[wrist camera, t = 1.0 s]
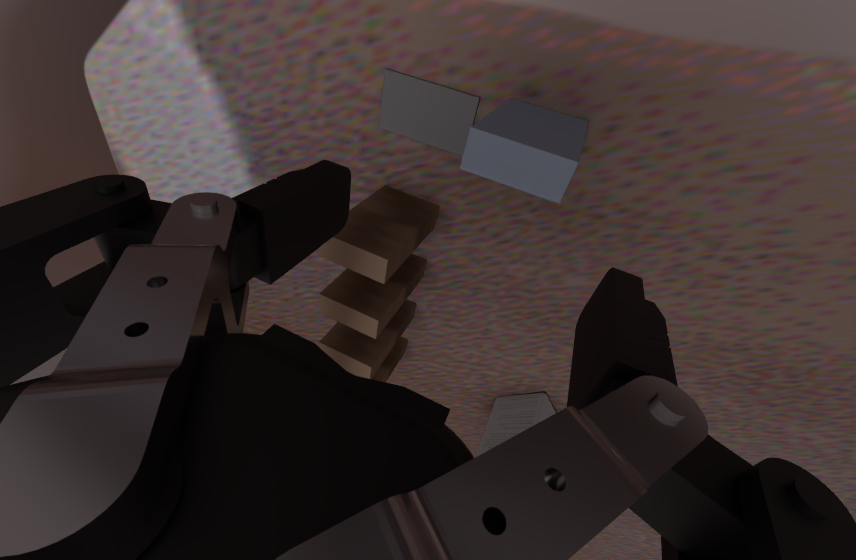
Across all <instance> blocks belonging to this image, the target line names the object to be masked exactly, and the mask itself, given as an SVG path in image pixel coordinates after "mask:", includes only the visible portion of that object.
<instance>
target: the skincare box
mask: <svg viewBox="0 0 856 560" xmlns="http://www.w3.org/2000/svg"><path fill="white" fill-rule="evenodd" d="M554 414H556V412H555V410H554V408H553V406H552V404H551V403H550V400H549V398H548V396H547V395H546V394H545V393H533V394H523V395H512V396H503V397H497V398H496V400H495V403H494V406H493V408H492V411H491V414H490V417H489V419H488V422H487V425H486V427H485V430H484V433H483V436H482V438H481V441H480V444H479V447H478V449H477V452H476V455H475V457H477V456H479V455H481V454H483V453H484V452H486V451H488V450H490V449H492V448H494V447H495V446H497V445H499V444H501V443H503V442H505V441H506V440H508V439H510V438H512V437H514V436H515V435H517V434H519V433H521V432H523V431H525V430H526V429H528V428H530V427H532V426H534V425H536V424H537V423H539V422H541V421H543V420H545V419H546V418H548V417H550V416H552V415H554Z"/></svg>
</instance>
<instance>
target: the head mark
mask: <svg viewBox="0 0 856 560" xmlns="http://www.w3.org/2000/svg"><path fill="white" fill-rule="evenodd" d="M479 100H480V97H477V96H474V95H470V94H467V93H464V92H461V91H457V90H454V89H451V88H448V87H444V86H441V85H438V84H435V83H431V82H428V81H425V80H422V79H418V78H415V77H412V76H409V75H406V74H402V73H399V72H396V71H393V70H389V69H385V75H384V85H383V95H382V104H381V114H380V123H379V128H381V129H384V130H387V131H390V132H393V133H396V134H398V135H401V136H404V137H407V138H410V139H413V140H416V141H419V142H422V143H425V144H427V145H430V146H433V147H436V148H439V149H442V150H445V151H448V152H451V153H454V154H456V155H459V156H462V157H463V154H464V150H465V146H466V143H467V139H468V135H469V131H470V127H471V126H473V123H474V120H475V116H476V112H477V108H478V104H479Z"/></svg>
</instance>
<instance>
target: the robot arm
mask: <svg viewBox="0 0 856 560" xmlns="http://www.w3.org/2000/svg"><path fill="white" fill-rule="evenodd" d="M350 186H351V172H350V170H349V168H347V167H345V166H342V165H339V164H336V163H334V162H331V161H328V160H322V161H320V162H318V163H316V164H314V165H312V166H310V167H307V168H305V169H302V170H297V171H291V172H288V173H286V174H284V175H281V176H279V177H277V179H273V180H270V181H268V182H267V183H266V184H262V185H259V186H257V187H255V188H253V189H251V190H249V191H246V192H244V193H242V194H240V195H238V196H235V197H233V198H230V197H228V196H226V195H222V194H218V193H208V192H204V193H193V194H189V195H185V196H183V197H180V198H178V199H177V200H175V201H174V202H173V203H167V202H162V201H156V200H151V199H150V197H149V193H148V190H147V187H146V184H145V182H144V181H142V180H141V179H139V178H136V177H133V176H127V175H102V176H96V177H92V178H88V179H85V180H82V181H79V182H76V183H73V184H70V185H67V186H63V187H60V188H57V189H54V190H51V191H48V192H45V193H42V194H39V195H36V196H33V197H30V198H27V199H23V200H20V201H17V202H14V203H11V204H8V205H5V206H2V207H0V560H568V559H569V558H571V557H572V556H573V555H574V554H575V553H576V552H578V551H579V550H580V549H581V548H582V547H583V546H585V545H586V544H587V543H588V542H589V541H590V540H592V539H593V538H594V537H595V536H596V535H597V534H599V533H600V532H601V531H602V530H603V529H604V528H606V527H607V526H608V525H609V524H610V523H611V522H613V521H614V520H615V519H616V518H617V517H618V516H619V515H621V514H622V513H623V512H624V511H625V510H626V509H628V508H629V509H631V510H632V511H633V512H634V513H635V514H637V515H638V516H639V517H640V518H641V519H643V520H644V521H645V522H646V523H647V524H648V525H650V526H651V527H652V528H653V529H654V530H656V531H657V532H658V533H659V534H660V535H661V545H662V560H856V523H855V521H854V519H853V517H852V516H851V514H850V513H849V511H848V510H847V508H846V507H845V506H844V504H843V503H842V502H841V501H840V500H839V499H838V497H837V496H836V495H835V494H834V493H833V492H832V491H831V490H830V489H829V488H828V487H827V486H826V485H825V484H823V483H822V482H821V481H820V480H819V479H817V478H816V477H815V476H813V475H812V474H811V473H809V472H808V471H806V470H805V469H803V468H801V467H799V466H798V465H796V464H794V463H791V462H789V461H787V460H783V459H780V458H767V459H764V460H763V461H761V462H759V463H757V464H756V465H754V466H752V465H751V464H750V463H748V462H747V461H745V460H744V459H742V458H741V457H739V456H738V455H736V454H735V453H733V452H732V451H731V450H729V449H728V448H726V447H725V446H723V445H722V444H720V443H719V442H717V441H716V440H715V439H713V438H712V437H711V436H709V435H708V424H707V420H706V418H705V416H704V414H703V412H702V410H701V409H700V407H699V406H698V405H697V404H696V402H695V401H694V400H693V399H692V398H691V397H690V396H689V395H688V394H687V393H685V392H684V391H683V390H682V389H680V388H679V387H678V385H677V380H676V374H675V369H674V364H673V359H672V353H671V348H669V346H670V343H669V337H668V336H667V333H668V332H667V327H666V321H665V318H664V316H663V315H662V313H661V312H660V310H659V309H658V308H657V306H656V305H655V303H653V302H651V301H648V300H645V296H644V289H643V281H642V278H640V277H638V276H635V275H632V274H630V273H627V272H624V271H622V270H619V269H616V268H614V267H612V268H611V269H609V271H608V272H607V273H606V275H605V276H604V278H603V279H602V281H601V282H600V284H599V285H598V287H597V289H596V290H595V292H594V293H593V295H592V296H591V298H590V299H589V301H588V303H587V304H586V306H585V307H584V309H583V311H582V313H581V315H580V317H579V319H578V322H577V325H576V330H575V339H574V348H573V357H572V366H571V375H570V383H569V392H568V401H567V408H565V409H563V410H561V411H559V412H557V413H556V414H554V415H552V416H550V417H548V418H546V419H545V420H543V421H541V422H539V423H537V424H536V425H534V426H532V427H530V428H528V429H526V430H525V431H523V432H521V433H519V434H517V435H515V436H514V437H512V438H510V439H508V440H506V441H505V442H503V443H501V444H499V445H497V446H495V447H494V448H492V449H490V450H488V451H486V452H484V453H483V454H481V455H479V456H477V457H475V458H474V457H473V455H472V453H471V452H470V451H469V449H468V448H467V447H466V445H465V444H464V443H463V442H462V440H461V439H460V438H459V437H458V436H457V435H456V434H455V433H454V432H453V431H452V430H451V429H450V428H448V427H447V426H446V425H445V424H444V423H445V421H446V419H447V416H448V414H449V411H450V409H449V408H447V407H444V406H442V405H440V404H438V403H436V402H434V401H432V400H430V399H428V398H426V397H424V396H422V395H420V394H418V393H416V392H414V391H412V390H409V389H407V388H405V387H403V386H399V385H394V384H390V383H386V382H381V381H377V380H373V379H368V378H364V377H360V376H355V375H352V374H350V373H349V372H347V371H346V370H345V369H344V368H342V367H341V366H340V365H339V364H338V363H337V362H335V361H334V360H333V359H332V358H331V357H330V356H329V355H327V354H326V353H325V352H324V351H323V350H322V349H320V348H319V347H318V346H317V345H316V344H315V343H313V342H311V341H309V340H307V339H305V338H302V337H300V336H298V335H296V334H294V333H292V332H290V331H288V330H286V329H284V328H282V327H280V326H278V325H276V324H274V325H273V326H271V327H270V328H269V329H268V330H267V331H266V332H265V333H264V334H262V335H256V334H247V333H243V328H244V321H245V315H246V308H247V302H248V295H249V283H248V281H249V280H250V279H252V278H253V277H255V278H257V279H259V280H261V281H264V282H266V283H268V284H270V285H271V284H272V283H273V282H275V281H276V280H277V279H279V278H280V277H281V276H283V275H284V274H285V273H287V272H288V271H289V270H290V269H292V268H293V267H294V266H296V265H297V264H298V263H300V262H301V261H302V260H304V259H305V258H306V257H307V256H309V255H310V254H311V253H313V252H314V251H315V250H317V249H318V248H319V247H321V246H322V245H323V244H324V243H326V242H327V241H328V240H330V239H331V238H332V237H334V236H335V235H336V234H338V233H339V232H340V231H341V230H342V229H343V228H344V226H345V224H346V222H347V219H348V215H349V202H350ZM93 237H94V239H95V241H96V243H97V245H98V247H99V250H100V252H101V254H102V256H103V258H104V260H105V261H104V262H102V263H100V264H98V265H96V266H94V267H92V268H90V269H88V270H86V271H84V272H82V273H81V274H78V275H77V276H75V277H73V278H71V279H69V280H67V281H65V282H63V283H61V284H59V285H57V286H55V287H52V285H51V283H50V282H49V280H48V279H47V277H46V275H45V266H46V263H47V262H48V261H49V259H50V258H51V257H53V256H54V255H56V254H58V253H60V252H62V251H64V250H66V249H69V248H70V247H73V246H75V245H78V244H80V243H82V242H84V241H86V240H89V239H91V238H93ZM66 348H67V350H66V351H65V353H64V355H63V357H62V358H61V360H60V362H59V363H58V365H57V367H56V368H55V370H54V371H53V372H52V373H51V374H50V375H48V376H45V377H40V378H36V379H32V380H29V381H25V382H20V383H16V384H12V383H13V382H15V381H16V380H18V379H19V378H21V377H22V376H24V375H26V374H27V373H29V372H30V371H32V370H33V369H35V368H37V367H38V366H40V365H41V364H43V363H44V362H46V361H47V360H49V359H51V358H52V357H54V356H55V355H57V354H58V353H60V352H61V351H63V350H65V349H66ZM10 384H12V385H10Z"/></svg>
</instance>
